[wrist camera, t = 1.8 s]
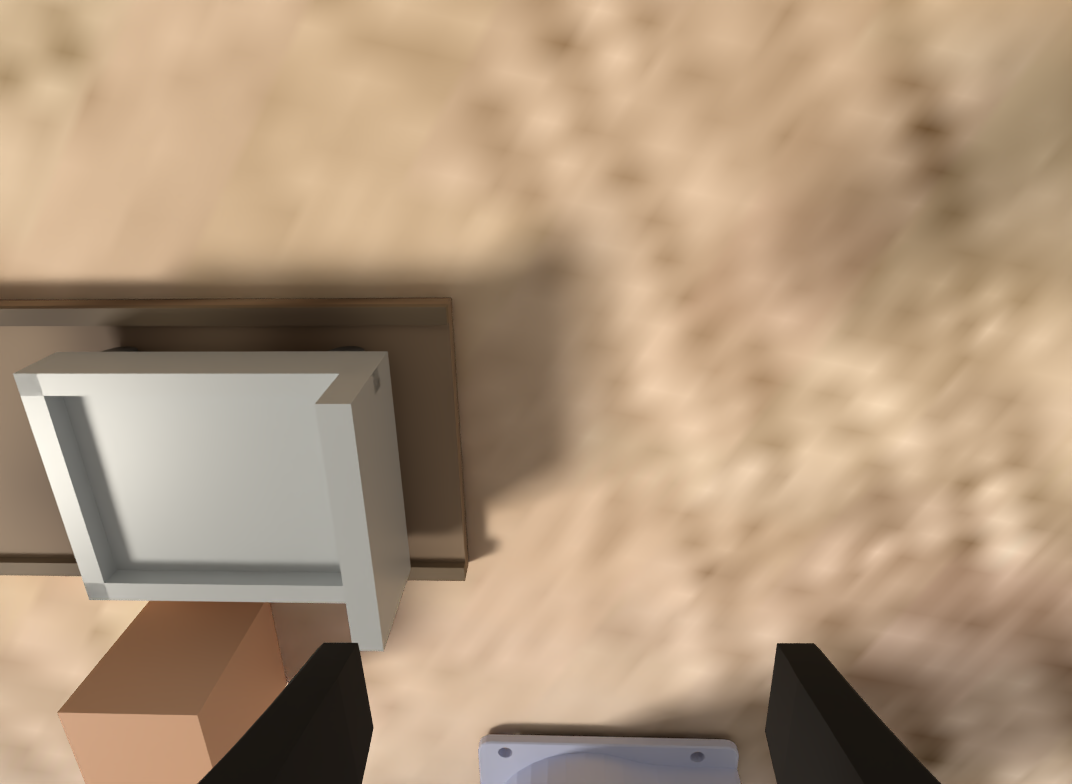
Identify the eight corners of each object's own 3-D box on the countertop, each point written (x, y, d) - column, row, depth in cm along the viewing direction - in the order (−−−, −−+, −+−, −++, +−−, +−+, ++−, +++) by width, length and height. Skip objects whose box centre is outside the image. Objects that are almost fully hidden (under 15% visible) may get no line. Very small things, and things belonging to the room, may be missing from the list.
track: (450, 297, 19) (434, 326, 17) (468, 563, 23) (457, 618, 20) (-266, 301, 20) (-378, 328, 18) (-141, 556, 23) (-221, 608, 21)
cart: (396, 338, 19) (350, 403, 15) (417, 548, 22) (383, 651, 18) (80, 339, 19) (-47, 403, 15) (140, 545, 22) (45, 645, 18)
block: (269, 594, 24) (197, 715, 19) (287, 682, 25) (225, 813, 21) (155, 593, 24) (57, 712, 19) (180, 680, 25) (95, 809, 21)
